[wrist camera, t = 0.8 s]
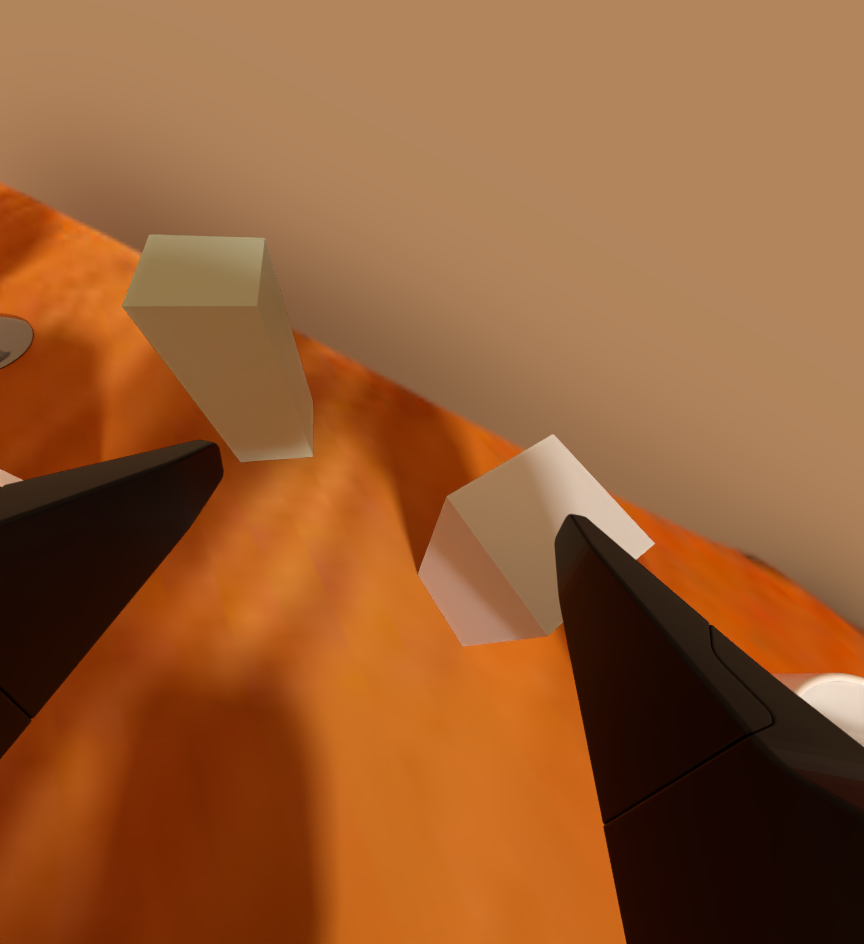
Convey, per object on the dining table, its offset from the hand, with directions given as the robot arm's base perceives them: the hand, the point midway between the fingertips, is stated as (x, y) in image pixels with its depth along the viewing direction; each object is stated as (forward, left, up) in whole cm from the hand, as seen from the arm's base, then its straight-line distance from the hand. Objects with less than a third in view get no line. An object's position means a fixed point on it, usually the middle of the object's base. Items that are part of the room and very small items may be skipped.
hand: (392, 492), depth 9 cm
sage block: (+3, +14, -15) cm, 21 cm away
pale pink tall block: (+4, -4, -15) cm, 16 cm away
